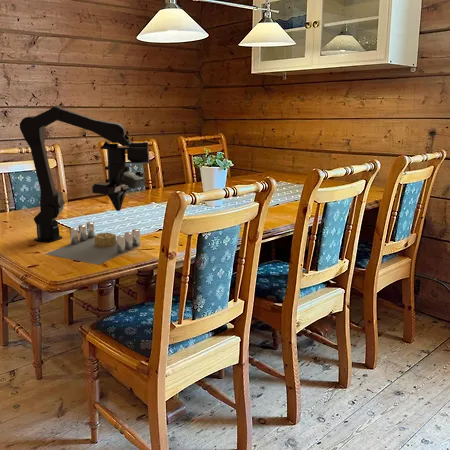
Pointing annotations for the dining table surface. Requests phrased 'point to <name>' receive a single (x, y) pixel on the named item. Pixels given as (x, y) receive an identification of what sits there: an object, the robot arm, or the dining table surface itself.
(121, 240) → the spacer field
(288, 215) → the dining table surface
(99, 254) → the mat
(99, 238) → the tan lobed block
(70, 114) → the robot arm
